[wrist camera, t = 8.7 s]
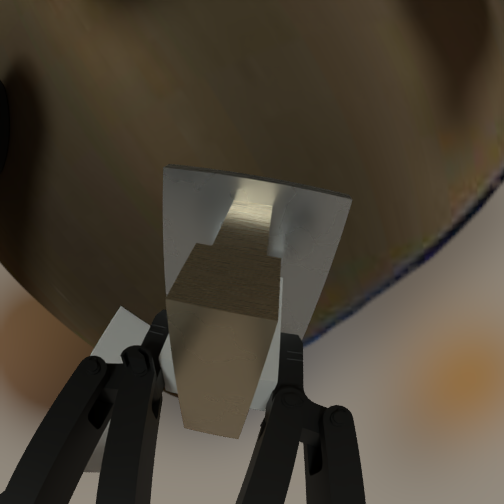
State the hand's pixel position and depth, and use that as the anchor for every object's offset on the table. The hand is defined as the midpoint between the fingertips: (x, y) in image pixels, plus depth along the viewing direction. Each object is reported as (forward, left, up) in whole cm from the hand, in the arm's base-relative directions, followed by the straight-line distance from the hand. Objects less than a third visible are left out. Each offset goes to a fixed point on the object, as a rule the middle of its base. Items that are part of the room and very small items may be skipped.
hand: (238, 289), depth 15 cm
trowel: (0, 0, -2) cm, 2 cm away
